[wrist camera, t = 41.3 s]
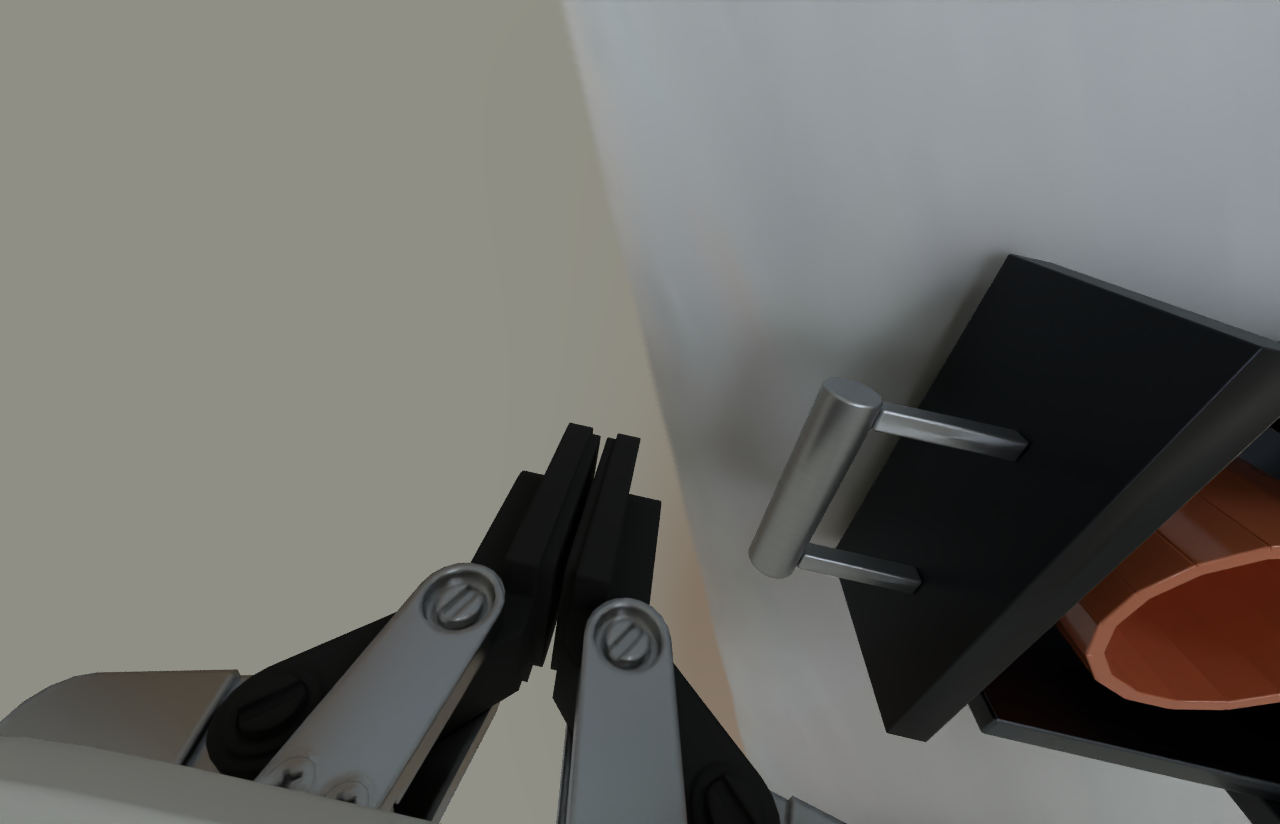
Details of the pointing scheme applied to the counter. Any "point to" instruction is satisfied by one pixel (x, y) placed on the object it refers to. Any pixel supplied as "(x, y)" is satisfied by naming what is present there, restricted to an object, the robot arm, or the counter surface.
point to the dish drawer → (1034, 514)
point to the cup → (1193, 604)
